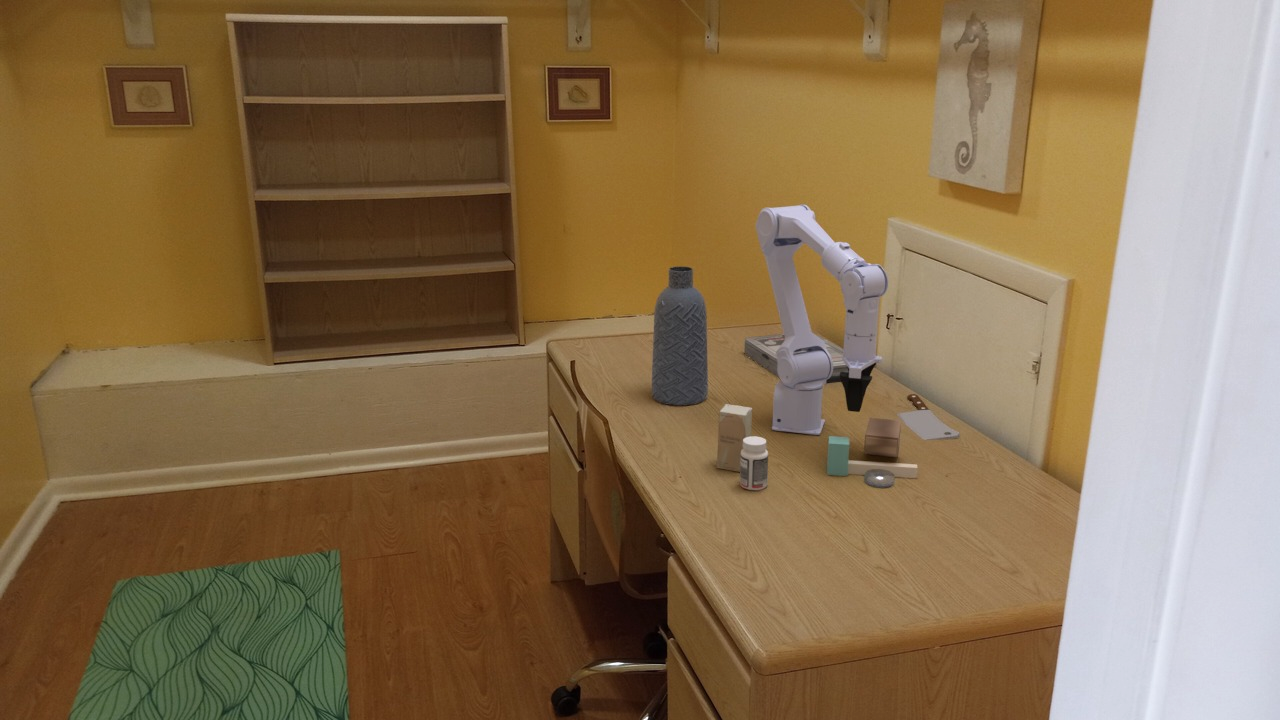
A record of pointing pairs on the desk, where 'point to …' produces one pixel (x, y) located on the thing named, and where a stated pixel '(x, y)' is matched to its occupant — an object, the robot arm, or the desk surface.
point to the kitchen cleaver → (926, 422)
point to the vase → (680, 342)
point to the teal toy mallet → (860, 462)
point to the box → (732, 435)
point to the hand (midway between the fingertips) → (856, 403)
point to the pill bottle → (754, 463)
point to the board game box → (766, 348)
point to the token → (879, 478)
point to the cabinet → (882, 437)
